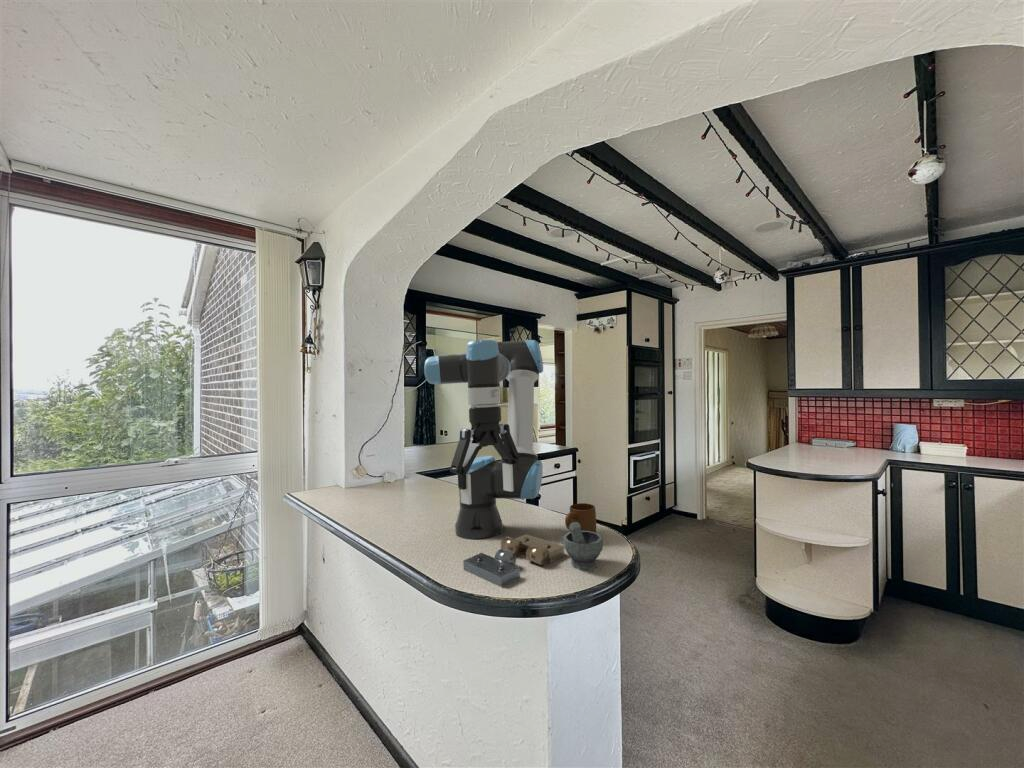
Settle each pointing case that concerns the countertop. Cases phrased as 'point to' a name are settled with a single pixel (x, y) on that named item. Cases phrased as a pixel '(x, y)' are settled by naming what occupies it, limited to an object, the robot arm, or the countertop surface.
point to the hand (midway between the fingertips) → (488, 496)
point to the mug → (582, 516)
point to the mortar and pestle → (582, 547)
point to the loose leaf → (494, 567)
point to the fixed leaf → (533, 548)
